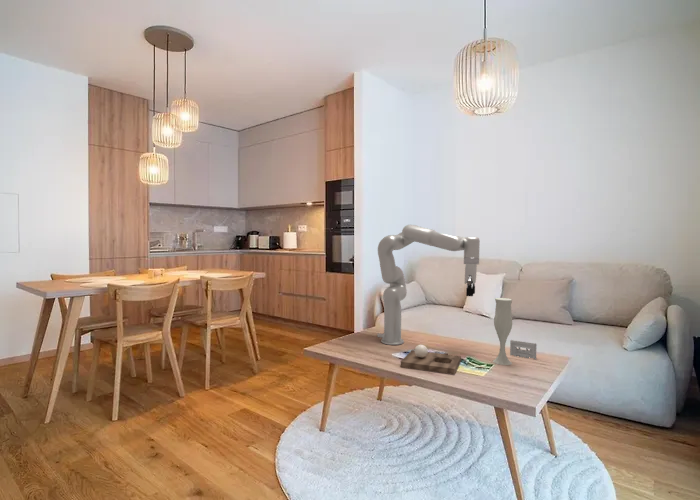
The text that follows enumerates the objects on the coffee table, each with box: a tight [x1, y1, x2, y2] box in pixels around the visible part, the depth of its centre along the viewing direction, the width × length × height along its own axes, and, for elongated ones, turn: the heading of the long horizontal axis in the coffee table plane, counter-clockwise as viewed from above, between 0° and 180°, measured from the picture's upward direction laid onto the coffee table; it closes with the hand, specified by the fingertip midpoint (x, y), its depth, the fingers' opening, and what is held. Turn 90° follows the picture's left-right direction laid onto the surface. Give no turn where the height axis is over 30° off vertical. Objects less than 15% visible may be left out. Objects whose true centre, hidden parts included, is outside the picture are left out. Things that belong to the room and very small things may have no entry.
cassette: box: [509, 339, 538, 360], centre depth 195 cm, size 12×2×8 cm, turn 56°
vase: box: [492, 297, 513, 366], centre depth 186 cm, size 9×8×30 cm
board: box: [400, 349, 462, 376], centre depth 183 cm, size 24×20×2 cm
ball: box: [414, 344, 429, 358], centre depth 185 cm, size 6×6×6 cm
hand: (470, 294), depth 201 cm, fingers open, 9 cm apart
